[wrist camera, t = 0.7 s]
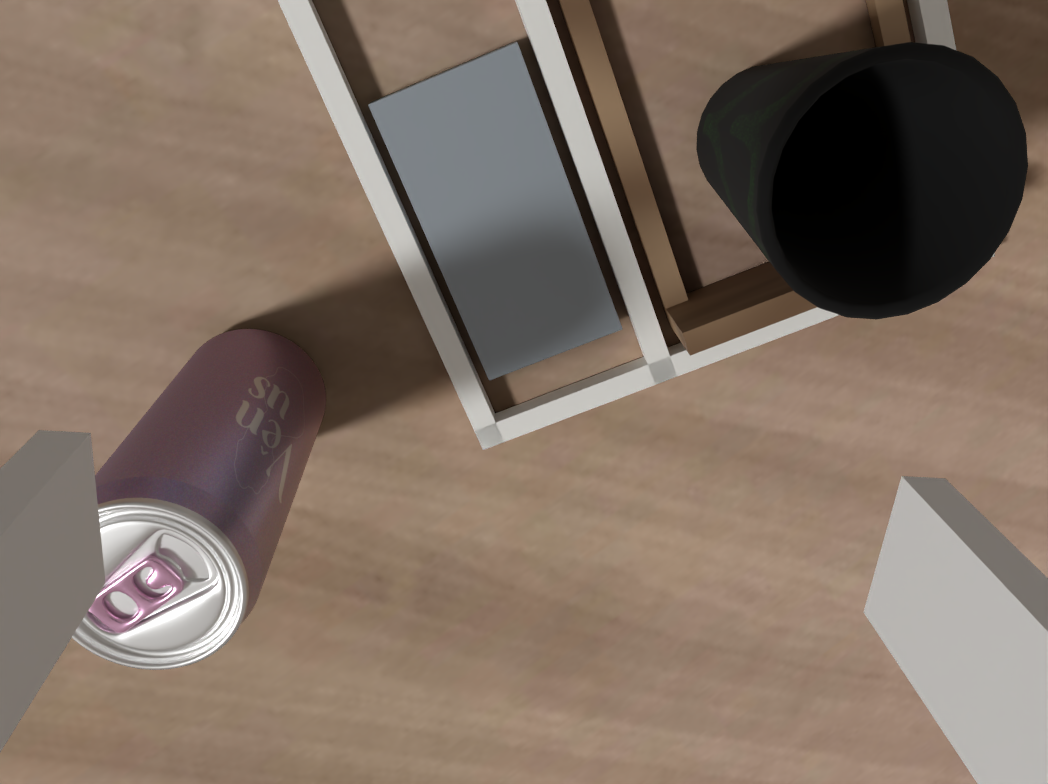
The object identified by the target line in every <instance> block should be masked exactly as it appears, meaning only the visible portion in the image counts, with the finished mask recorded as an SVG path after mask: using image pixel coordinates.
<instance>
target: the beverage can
mask: <svg viewBox="0 0 1048 784" xmlns="http://www.w3.org/2000/svg"><path fill="white" fill-rule="evenodd" d="M325 407H326V392H325V386H324V382H323V379H322V377H321V374H320V372H319V370H318V368H317V367H316V365H315V363H314V362H313V361H312V359H311V358H310V357H309V356H308V355H307V354H306V353H305V352H304V351H303V350H302V349H301V348H300V347H299V346H297V345H296V344H295V343H293V342H292V341H290V340H288V339H286V338H284V337H282V336H280V335H278V334H275V333H272V332H268V331H264V330H258V329H239V330H233V331H229V332H225V333H222V334H220V335H218V336H215V337H214V338H212V339H210V340H209V341H207V342H206V343H205V344H203V345H202V346H201V347H200V348H199V349H198V350H197V351H196V352H195V354H194V355H193V356H192V357H191V358H190V360H189V361H188V362H187V363H186V365H185V366H184V367H183V368H182V369H181V371H180V372H179V373H178V374H177V376H176V377H175V378H174V379H173V381H172V382H171V383H170V384H169V385H168V387H167V388H166V389H165V390H164V392H163V393H162V394H161V395H160V397H159V398H158V399H157V400H156V401H155V403H154V404H153V405H152V406H151V408H150V409H149V410H148V411H147V412H146V414H145V415H144V416H143V417H142V419H141V420H140V421H139V422H138V424H137V425H136V426H135V427H134V428H133V430H132V431H131V432H130V433H129V435H128V436H127V437H126V438H125V439H124V441H123V442H122V443H121V444H120V446H119V447H118V448H117V449H116V451H115V452H114V453H113V454H112V455H111V457H110V458H109V459H108V460H107V462H106V463H105V464H104V465H103V467H102V468H101V469H100V470H99V471H98V473H97V474H96V475H95V482H96V492H97V502H98V512H99V522H100V532H101V542H102V552H103V562H104V572H105V582H106V583H105V585H104V586H103V588H102V589H101V591H100V593H99V594H98V596H97V597H96V599H95V601H94V602H93V604H92V606H91V607H90V609H89V610H88V612H87V614H86V615H85V617H84V618H83V620H82V622H81V623H80V625H79V626H78V628H77V630H76V631H75V633H74V634H73V636H72V638H73V639H74V640H75V641H76V642H77V643H79V644H80V645H81V646H83V647H84V648H86V649H87V650H89V651H90V652H92V653H94V654H96V655H98V656H99V657H102V658H104V659H106V660H108V661H111V662H114V663H117V664H120V665H124V666H128V667H133V668H139V669H150V670H162V669H172V668H178V667H183V666H187V665H190V664H193V663H196V662H198V661H201V660H203V659H205V658H207V657H209V656H210V655H212V654H214V653H215V652H217V651H218V650H219V649H221V648H222V647H223V646H224V645H225V644H226V643H227V642H228V641H229V640H230V639H231V638H232V637H233V635H234V634H235V633H236V631H237V630H238V628H239V626H240V624H241V623H242V622H243V621H244V620H245V619H246V618H247V616H248V615H249V614H250V612H251V611H252V609H253V607H254V605H255V604H256V601H257V599H258V596H259V593H260V591H261V588H262V585H263V582H264V580H265V577H266V574H267V571H268V569H269V566H270V563H271V560H272V558H273V555H274V552H275V549H276V546H277V544H278V541H279V538H280V535H281V533H282V530H283V527H284V524H285V522H286V519H287V516H288V513H289V511H290V508H291V505H292V502H293V499H294V497H295V494H296V491H297V488H298V486H299V483H300V480H301V477H302V475H303V472H304V469H305V466H306V463H307V461H308V458H309V455H310V452H311V450H312V447H313V444H314V441H315V439H316V436H317V433H318V430H319V428H320V425H321V422H322V419H323V416H324V412H325Z"/></svg>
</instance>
